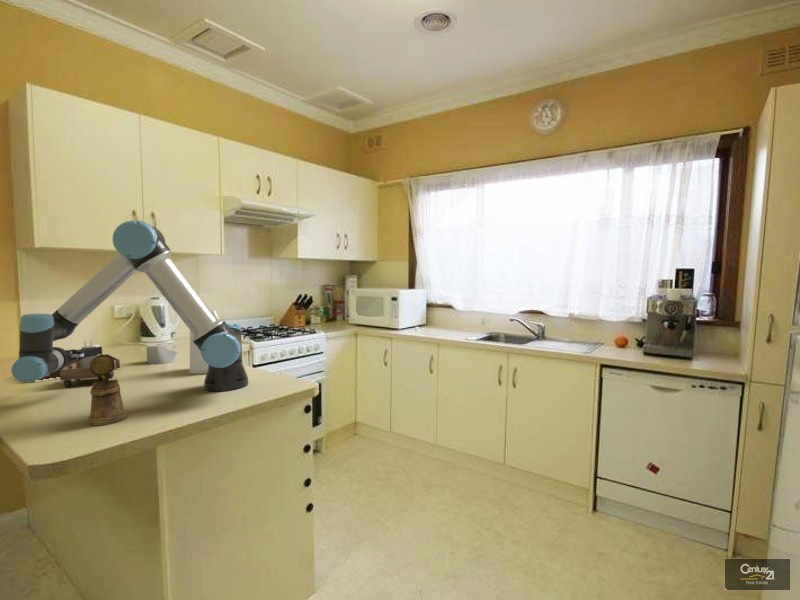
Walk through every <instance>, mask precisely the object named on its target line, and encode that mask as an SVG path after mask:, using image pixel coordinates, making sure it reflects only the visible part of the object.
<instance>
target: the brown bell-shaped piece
mask: <svg viewBox="0 0 800 600" xmlns="http://www.w3.org/2000/svg"><path fill="white" fill-rule="evenodd" d="M114 367H115V363H114V360H113V359H112V358H110V357H109V356H106V355H105V354H103V353H102V354H99V356H97V357H95V358H94V359H93V360H92V361H91V362H90V371H91V372H92V373H93V374H95V375H97V376H98V378H97V382H92V388H90V391H89V392H90V395H91V401H90V402H91V403H90V404H91V405H90V414H89V416H88V424H89V425H91V426H105V425H111V424H116V423H118V422H121V421H124V420H126V419H127V418H128V416H127V415H128V414H127V410H126V409H125V406H124V402H123V398H122V395H121V394H122V393H121V387H120V384H119V381H118V379H111V380H110V378H109V376H108V374H109V373H110V372H112V371H113V370H114ZM114 371H115V370H114ZM103 374H104V375H103Z"/></svg>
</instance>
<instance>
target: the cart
mask: <svg viewBox="0 0 800 600" xmlns="http://www.w3.org/2000/svg"><path fill="white" fill-rule="evenodd" d="M114 363H115V367H114V370H113V371H112V372H110V373H109V374H108V376H109V379H110V378H111V377H113V378H114V373H115V370H116V360H114ZM103 375H104V374H103ZM96 378H97V379H98V376H97V375H95V374H93V373H92V372H91V371H90V367H89V368H81V362H78V363H73V364H71V365H69V366H67V367H65V368H63V369H61V370H60V379H59V380H60V382H63V385H64V388H67V387H66V386H70V385H71V386H72V381H73V380H75V381H76V380H78V381H80V380H79V379H81V380H85V379H96ZM71 386H70V387H71Z"/></svg>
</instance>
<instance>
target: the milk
mask: <svg viewBox="0 0 800 600" xmlns="http://www.w3.org/2000/svg"><path fill="white" fill-rule="evenodd" d="M210 311H211V312H212V313H213V315H214V316H215V317H216V318H217V319H220V317H219V316H218V314H217V311H216V310H210ZM192 338H193V333H192V332H191V330H190V329H189V374H207V371H208V367H209V365H208V364H207V363H206V362H205V361H204V359H203V357H202V355H201V351H200V350H199V349H198V347H197V346H196V345H195V344H194V342H193V341H192Z"/></svg>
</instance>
